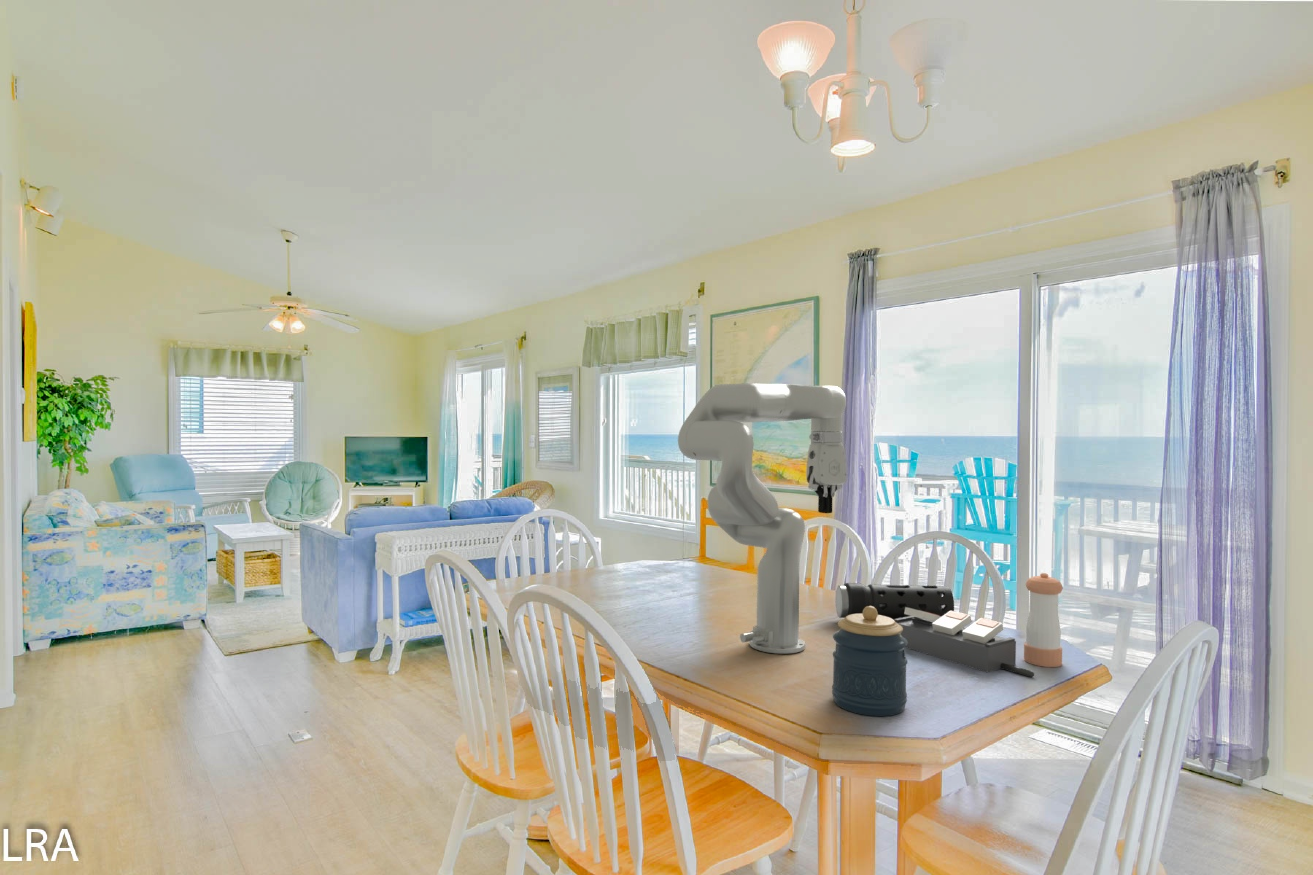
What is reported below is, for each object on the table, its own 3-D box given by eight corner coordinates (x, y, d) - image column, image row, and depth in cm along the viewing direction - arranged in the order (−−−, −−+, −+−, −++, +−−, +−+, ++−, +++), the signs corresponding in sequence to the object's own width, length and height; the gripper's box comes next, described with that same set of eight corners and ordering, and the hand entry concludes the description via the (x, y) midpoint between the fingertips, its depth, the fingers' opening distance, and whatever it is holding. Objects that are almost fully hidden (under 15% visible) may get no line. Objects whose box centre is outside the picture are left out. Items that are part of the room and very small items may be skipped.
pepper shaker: (1023, 663, 156) (1025, 574, 156) (1024, 654, 162) (1025, 569, 162) (1062, 669, 152) (1064, 577, 152) (1061, 659, 159) (1063, 572, 159)
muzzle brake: (954, 629, 183) (955, 588, 183) (842, 627, 184) (843, 586, 184) (940, 620, 193) (941, 581, 193) (834, 618, 193) (834, 579, 193)
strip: (1019, 682, 144) (1020, 653, 144) (892, 643, 170) (892, 618, 170) (1047, 673, 150) (1047, 645, 150) (919, 637, 175) (920, 613, 175)
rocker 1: (922, 618, 165) (923, 610, 165) (904, 613, 169) (905, 606, 169) (940, 623, 168) (942, 616, 169) (922, 618, 173) (923, 611, 173)
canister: (833, 687, 140) (835, 595, 139) (905, 695, 136) (906, 601, 136) (829, 712, 127) (831, 611, 127) (908, 721, 123) (909, 617, 123)
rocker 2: (952, 635, 159) (951, 627, 158) (933, 629, 163) (931, 622, 163) (971, 621, 162) (970, 614, 162) (951, 616, 167) (950, 609, 166)
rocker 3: (984, 643, 152) (983, 636, 152) (963, 638, 157) (961, 630, 156) (1003, 629, 156) (1002, 622, 156) (981, 624, 160) (980, 617, 160)
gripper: (815, 439, 174) (814, 515, 174) (858, 439, 182) (857, 512, 182) (793, 438, 180) (792, 512, 180) (836, 439, 188) (834, 509, 188)
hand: (825, 512), depth 181 cm, fingers closed
